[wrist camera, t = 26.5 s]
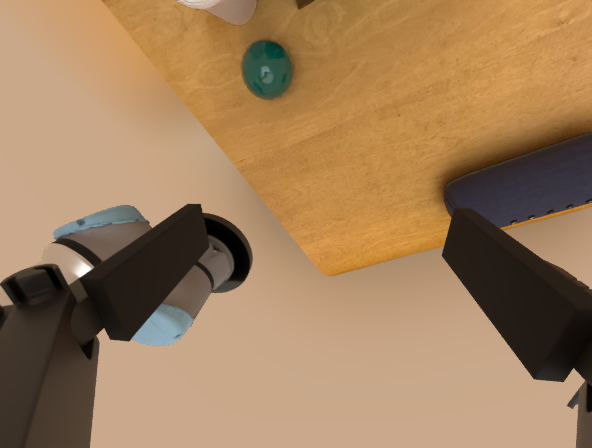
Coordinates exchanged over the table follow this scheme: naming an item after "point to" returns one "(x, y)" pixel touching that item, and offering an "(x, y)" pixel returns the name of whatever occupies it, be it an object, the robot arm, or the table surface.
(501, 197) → the portable speaker
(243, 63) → the sphere
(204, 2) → the coffee cup
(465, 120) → the table surface
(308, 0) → the rack
